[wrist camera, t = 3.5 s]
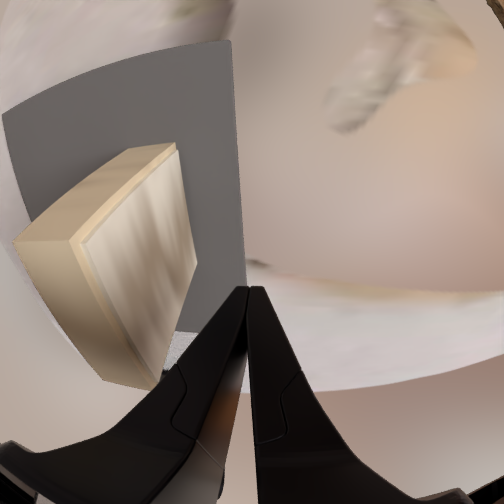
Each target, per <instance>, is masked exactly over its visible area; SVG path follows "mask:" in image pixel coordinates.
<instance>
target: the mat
mask: <svg viewBox="0 0 504 504" xmlns="http://www.w3.org/2000/svg"><path fill="white" fill-rule="evenodd" d="M2 120H3V125H4V131H5V136H6V140H7V145H8V149H9V153H10V157H11V161H12V165H13V169H14V172H15V175H16V179H17V182H18V185H19V188H20V191H21V194H22V197H23V200H24V203H25V206H26V209H27V211H28V214H29V217H30V219H31V222H33V221H34V220H35V219H36V218H37V217H39V216H40V215H41V214H42V213H43V212H44V211H45V210H46V209H48V208H49V207H50V206H51V205H52V204H53V203H55V202H56V201H57V200H58V199H59V198H61V197H62V196H63V195H64V194H65V193H67V192H68V191H69V190H70V189H72V188H73V187H74V186H76V185H77V184H78V183H80V182H81V181H82V180H83V179H85V178H86V177H88V176H89V175H90V174H92V173H93V172H94V171H96V170H97V169H99V168H100V167H101V166H103V165H104V164H106V163H107V162H109V161H110V160H112V159H113V158H115V157H116V156H118V155H119V154H121V153H122V152H124V151H125V150H127V149H128V148H135V147H141V146H149V145H156V144H164V143H173V142H175V144H176V150H178V153H179V160H180V167H181V173H182V180H183V186H184V193H185V199H186V205H187V210H188V216H189V222H190V227H191V233H192V238H193V243H194V249H195V254H196V259H197V266H196V268H195V271H194V274H193V277H192V280H191V283H190V286H189V289H188V291H187V294H186V297H185V300H184V303H183V306H182V309H181V312H180V315H179V318H178V321H177V325H176V328H175V331H182V332H194V333H200V331H201V330H202V329H203V328H204V326H205V325H206V324H207V322H208V321H209V320H210V319H211V317H212V316H213V315H214V314H215V312H216V311H217V310H218V309H219V307H220V306H221V305H222V303H223V302H224V301H225V300H226V298H227V297H228V296H229V295H230V293H231V292H232V291H233V289H234V288H235V287H236V286H247V279H246V266H245V252H244V238H243V223H242V210H241V194H240V181H239V180H240V179H239V164H238V149H237V133H236V117H235V100H234V83H233V66H232V49H231V41H230V40H222V41H213V42H205V43H197V44H191V45H185V46H179V47H174V48H169V49H164V50H159V51H155V52H151V53H147V54H143V55H139V56H135V57H131V58H128V59H124V60H121V61H118V62H115V63H111V64H108V65H105V66H102V67H100V68H97V69H94V70H91V71H89V72H86V73H83V74H81V75H78V76H76V77H73V78H71V79H69V80H66V81H64V82H62V83H59V84H57V85H55V86H53V87H51V88H49V89H47V90H45V91H43V92H41V93H39V94H37V95H35V96H33V97H31V98H29V99H27V100H25V101H24V102H22V103H20V104H18V105H17V106H15V107H13V108H12V109H10V110H8V111H7V112H5V113H3V114H2Z"/></svg>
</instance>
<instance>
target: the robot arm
mask: <svg viewBox="0 0 504 504" xmlns="http://www.w3.org/2000/svg"><path fill="white" fill-rule="evenodd" d="M247 357H248V365H249V380H250V394H251V408H252V421H253V436H254V447H255V448H254V449H255V462H256V478H257V492H258V493H257V494H258V504H504V475H503V476H501V477H500V478H498V479H496V480H494V481H492V482H490V483H488V484H486V485H484V486H482V487H480V488H478V489H476V490H475V491H473V492H471V493H469V494H467V495H466V494H465V493H464V492H463V491H462V490H461V489H460V488H454V489H450V490H448V491H444V492H441V493H437V494H433V495H429V496H426V497H421V498H417V499H414V498H412V497H410V496H408V495H406V494H405V493H404V492H402V491H401V490H399V489H398V488H396V487H395V486H394V485H392V484H391V483H389V482H388V481H387V480H385V479H384V478H383V477H381V476H380V475H378V474H377V473H376V472H374V471H373V470H372V469H371V468H369V467H368V466H367V465H365V464H364V463H363V462H362V461H361V460H360V459H359V458H358V457H357V456H356V455H355V454H354V453H353V452H352V450H351V449H350V448H349V447H348V445H347V444H346V442H345V441H344V440H343V439H342V437H341V435H340V434H339V432H338V431H337V430H336V428H335V426H334V425H333V423H332V422H331V420H330V419H329V417H328V416H327V414H326V413H325V411H324V410H323V408H322V406H321V405H320V403H319V402H318V400H317V399H316V397H315V395H314V393H313V391H312V389H311V387H310V385H309V383H308V381H307V379H306V377H305V375H304V373H303V371H301V366H300V364H299V362H298V360H297V358H296V356H295V353H294V351H293V349H292V347H291V345H290V343H289V340H288V338H287V336H286V334H285V332H284V330H283V327H282V325H281V323H280V321H279V319H278V317H277V314H276V312H275V310H274V308H273V306H272V304H271V301H270V299H269V297H268V295H267V293H266V291H265V288H264V287H263V286H251V287H249V286H236V287H235V288H234V289H233V291H232V292H231V293H230V295H229V296H228V297H227V298H226V300H225V301H224V302H223V303H222V305H221V306H220V307H219V309H218V310H217V311H216V312H215V314H214V315H213V316H212V317H211V319H210V320H209V321H208V322H207V324H206V325H205V326H204V328H203V329H202V330H201V331H200V333H199V334H198V335H197V336H196V338H195V339H194V340H193V341H192V343H191V344H190V345H189V346H188V348H187V349H186V350H185V351H184V353H183V354H182V355H181V356H180V358H179V359H178V360H177V362H176V363H177V364H176V363H175V364H174V365H173V366H172V368H171V369H170V370H169V371H168V372H164V371H162V373H161V377H160V380H159V383H158V384H157V385H156V386H155V387H154V388H153V389H152V390H151V391H150V393H149V394H148V395H147V396H146V397H145V398H144V399H143V400H141V401H140V402H139V403H138V404H137V405H136V406H135V407H134V408H133V409H132V410H131V411H130V412H129V413H128V414H127V415H126V416H125V417H124V418H122V420H120V421H119V422H118V423H117V424H116V425H115V426H114V427H112V428H111V429H110V430H108V431H106V432H105V433H103V434H101V435H99V436H96V437H94V438H90V439H88V440H84V441H82V442H78V443H75V444H72V445H69V446H65V447H62V448H58V449H55V450H51V451H47V452H42V453H35V452H33V451H31V450H29V449H27V448H25V447H24V446H22V445H20V444H18V443H17V442H15V441H12V440H10V441H8V442H5V443H3V444H1V443H0V504H216V502H217V500H218V499H219V498H220V496H221V494H222V491H223V486H224V476H225V475H224V474H225V472H224V471H225V462H226V458H227V453H228V448H229V444H230V439H231V435H232V429H233V425H234V420H235V416H236V411H237V406H238V401H239V396H240V392H241V387H242V382H243V377H244V372H245V367H246V362H247Z"/></svg>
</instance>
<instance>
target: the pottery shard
mask: <svg viewBox="0 0 504 504" xmlns="http://www.w3.org/2000/svg"><path fill="white" fill-rule="evenodd" d="M486 1H487V4H488V5H489V6H490V7H491V8H492V10H493V12H494V14H495V15H496V16H497V18H498V19H499V21H500V23H501V24H502V26H503V28H504V0H486Z"/></svg>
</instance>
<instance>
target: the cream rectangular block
mask: <svg viewBox="0 0 504 504" xmlns="http://www.w3.org/2000/svg"><path fill="white" fill-rule="evenodd" d="M12 243H13V245H14V247H15V249H16V251H17V253H18V255H19V257H20V259H21V261H22V263H23V265H24V267H25V269H26V271H27V273H28V275H29V276H30V278H31V280H32V282H33V283H34V285H35V287H36V289H37V290H38V292H39V294H40V295H41V297H42V299H43V300H44V302H45V304H46V305H47V307H48V308H49V310H50V311H51V313H52V314H53V316H54V317H55V319H56V320H57V322H58V323H59V325H60V326H61V328H62V329H63V331H64V332H65V333H66V335H67V336H68V337H69V339H70V340H71V342H72V343H73V344H74V345H75V347H76V348H77V349H78V351H79V352H80V353H81V355H82V356H83V357H84V358H85V360H86V361H87V362H88V363H89V364H90V366H91V367H92V368H93V369H94V370H95V371H96V373H97V374H98V375H99V376H100V377H101V378H102V380H104V381H108V382H113V383H116V384H120V385H125V386H129V387H134V388H138V389H143V390H148V391H151V390H152V389H153V388H154V387H155V386H156V385H157V383H159V380H160V377H161V373H162V370H163V366H164V363H165V360H166V356H167V353H168V350H169V347H170V343H171V340H172V337H173V334H174V331H175V328H176V325H177V321H178V318H179V315H180V312H181V309H182V306H183V303H184V300H185V297H186V294H187V291H188V289H189V286H190V283H191V280H192V277H193V274H194V271H195V268H196V266H197V259H196V254H195V249H194V243H193V238H192V233H191V227H190V222H189V216H188V210H187V205H186V199H185V193H184V186H183V180H182V173H181V167H180V160H179V153H178V150H176V144H175V142H173V143H164V144H156V145H149V146H141V147H135V148H128V149H127V150H125V151H124V152H122V153H121V154H119V155H118V156H116V157H115V158H113V159H112V160H110V161H109V162H107V163H106V164H104V165H103V166H101V167H100V168H99V169H97V170H96V171H94V172H93V173H92V174H90V175H89V176H88V177H86V178H85V179H83V180H82V181H81V182H80V183H78V184H77V185H76V186H74V187H73V188H72V189H70V190H69V191H68V192H67V193H65V194H64V195H63V196H62V197H61V198H59V199H58V200H57V201H56V202H55V203H53V204H52V205H51V206H50V207H49V208H48V209H46V210H45V211H44V212H43V213H42V214H41V215H40V216H39V217H37V218H36V219H35V220H34V221H33V222H32V223H31V224H30V225H29V226H28V227H27V228H26V229H25V230H24V231H22V232H21V233H20V234H19V235H18V236H17V237H16V238H15V239H14V240H13V241H12Z"/></svg>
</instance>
